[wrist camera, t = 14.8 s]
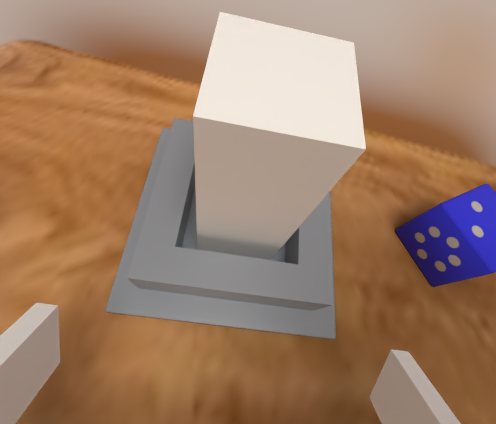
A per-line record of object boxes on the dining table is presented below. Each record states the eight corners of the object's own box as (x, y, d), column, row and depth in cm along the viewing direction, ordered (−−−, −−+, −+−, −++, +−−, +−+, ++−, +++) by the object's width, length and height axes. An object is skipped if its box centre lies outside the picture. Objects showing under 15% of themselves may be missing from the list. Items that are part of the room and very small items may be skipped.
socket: (324, 165, 24) (345, 135, 21) (329, 339, 18) (361, 338, 14) (164, 136, 23) (157, 97, 19) (109, 313, 17) (85, 305, 13)
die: (434, 211, 24) (488, 182, 20) (473, 263, 22) (541, 244, 18) (392, 230, 23) (440, 203, 18) (431, 287, 21) (494, 273, 16)
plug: (274, 196, 21) (353, 42, 10) (270, 259, 19) (365, 149, 8) (209, 185, 20) (219, 11, 10) (197, 249, 18) (192, 116, 7)
